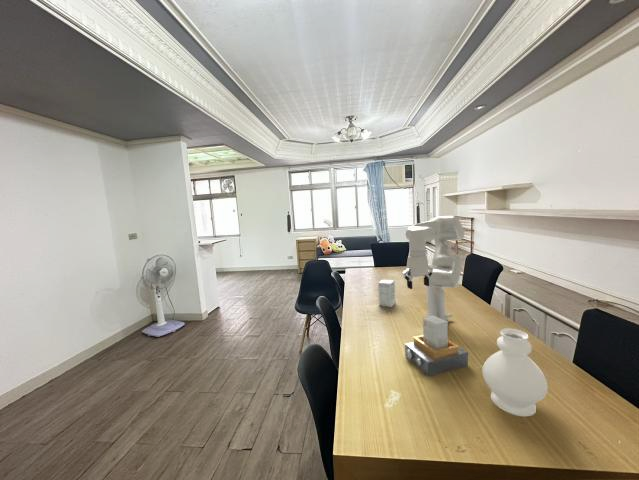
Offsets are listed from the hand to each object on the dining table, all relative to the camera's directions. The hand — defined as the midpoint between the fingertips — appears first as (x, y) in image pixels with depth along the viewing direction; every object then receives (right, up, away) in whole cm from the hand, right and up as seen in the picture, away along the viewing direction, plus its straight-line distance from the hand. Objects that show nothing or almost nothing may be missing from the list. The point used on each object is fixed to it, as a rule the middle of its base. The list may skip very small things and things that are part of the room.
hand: (418, 286), depth 133 cm
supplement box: (-1, -22, +55) cm, 59 cm away
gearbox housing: (+2, -30, -15) cm, 34 cm away
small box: (+2, -24, -16) cm, 29 cm away
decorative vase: (+17, -33, -42) cm, 56 cm away
